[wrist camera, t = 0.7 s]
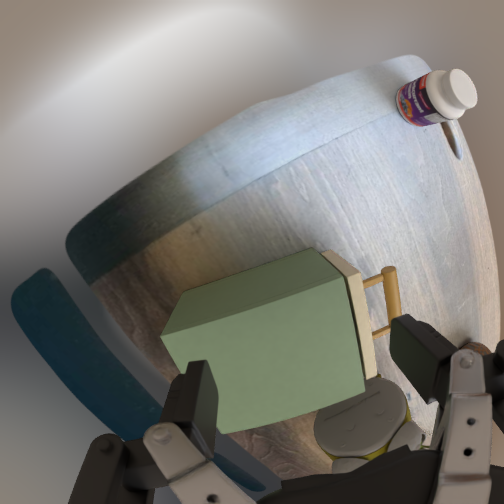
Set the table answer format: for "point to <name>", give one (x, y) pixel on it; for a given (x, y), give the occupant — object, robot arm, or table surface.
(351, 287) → the drawer
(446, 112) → the pill bottle
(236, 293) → the cabinet
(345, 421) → the alarm clock
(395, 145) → the table surface
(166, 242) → the table surface
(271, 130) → the table surface
